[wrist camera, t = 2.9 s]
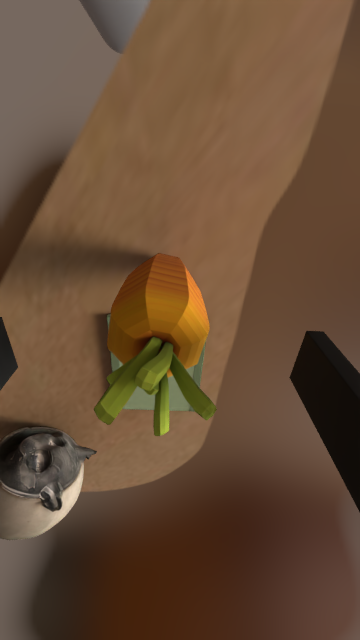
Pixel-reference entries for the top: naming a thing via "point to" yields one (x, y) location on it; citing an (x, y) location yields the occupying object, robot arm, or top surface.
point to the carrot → (156, 340)
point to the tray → (175, 395)
